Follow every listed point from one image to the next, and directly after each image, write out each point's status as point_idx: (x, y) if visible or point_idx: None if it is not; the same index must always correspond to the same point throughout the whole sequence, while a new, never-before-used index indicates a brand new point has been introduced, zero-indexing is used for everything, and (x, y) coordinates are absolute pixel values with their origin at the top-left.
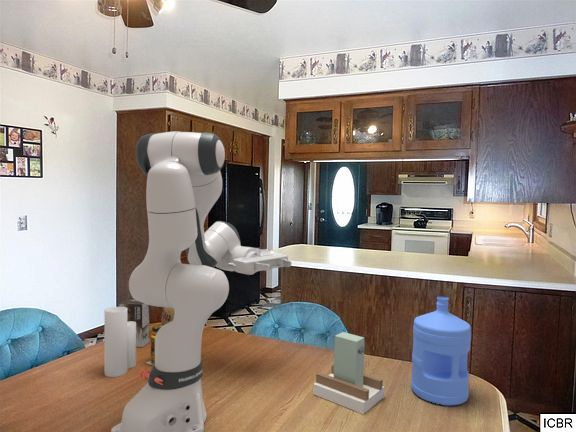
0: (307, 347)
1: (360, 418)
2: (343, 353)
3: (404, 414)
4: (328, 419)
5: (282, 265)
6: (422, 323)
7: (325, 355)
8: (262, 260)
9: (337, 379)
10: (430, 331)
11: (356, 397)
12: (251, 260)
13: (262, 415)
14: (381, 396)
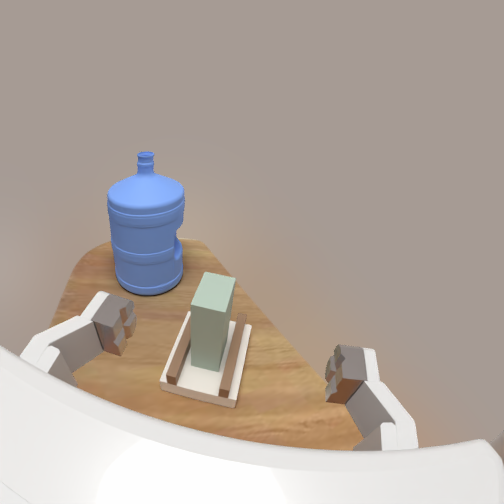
0: None
1: (261, 336)
2: (227, 318)
3: None
4: (288, 366)
5: (75, 381)
6: (166, 199)
7: None
8: (319, 450)
9: (231, 354)
10: (181, 200)
11: (242, 335)
12: (451, 459)
13: (340, 439)
14: None
